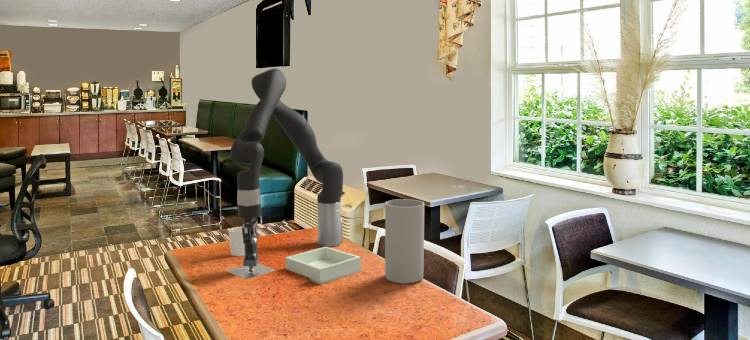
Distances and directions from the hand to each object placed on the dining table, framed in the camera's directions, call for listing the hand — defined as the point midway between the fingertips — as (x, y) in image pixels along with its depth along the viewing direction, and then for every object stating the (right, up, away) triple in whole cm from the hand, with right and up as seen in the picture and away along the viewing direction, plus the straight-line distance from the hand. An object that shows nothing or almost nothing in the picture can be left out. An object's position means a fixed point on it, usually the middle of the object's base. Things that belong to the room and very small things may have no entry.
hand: (251, 252), depth 179 cm
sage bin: (+24, -7, +3) cm, 25 cm away
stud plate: (0, -7, +1) cm, 7 cm away
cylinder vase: (+51, -8, -3) cm, 52 cm away
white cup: (-9, -5, +21) cm, 23 cm away
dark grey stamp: (0, -4, +1) cm, 4 cm away
